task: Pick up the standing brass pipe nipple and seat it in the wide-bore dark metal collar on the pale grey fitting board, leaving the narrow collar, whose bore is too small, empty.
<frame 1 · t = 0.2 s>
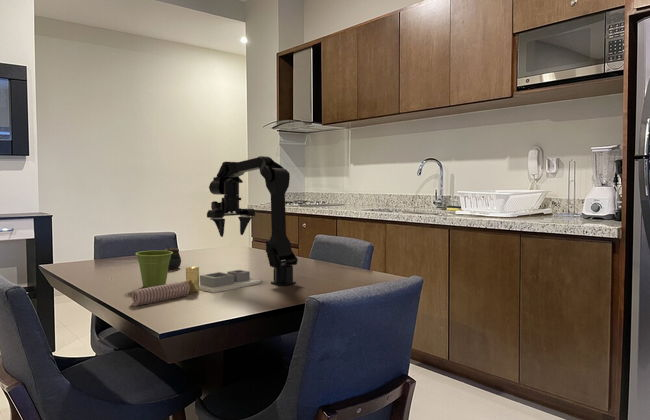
hand: (231, 235, 186), 15 cm above the table, fingers open, 9 cm apart
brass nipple: (192, 292, 154), on the table
coil: (161, 301, 144), on the table
mate gourd: (172, 269, 198), on the table
fitting board: (226, 285, 165), on the table
plant pot: (154, 286, 164), on the table
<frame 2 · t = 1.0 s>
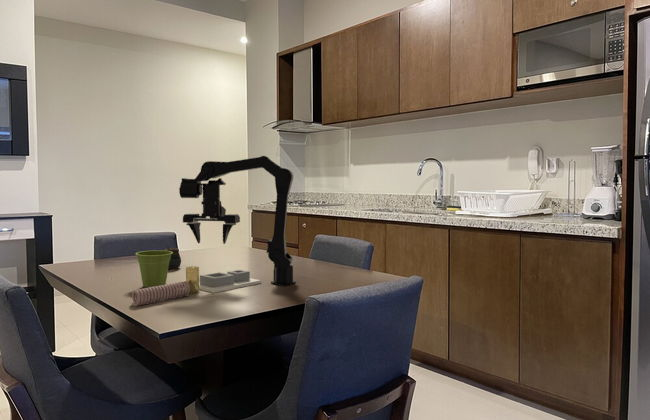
hand: (211, 243, 169), 14 cm above the table, fingers open, 9 cm apart
nothing on the table moved.
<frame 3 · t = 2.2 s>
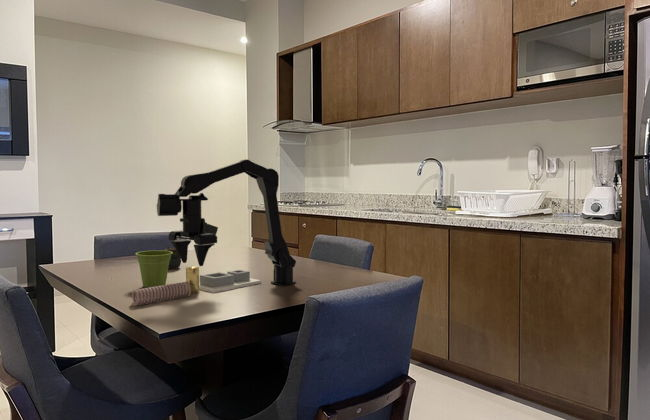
hand: (192, 264, 154), 9 cm above the table, fingers open, 9 cm apart
nothing on the table moved.
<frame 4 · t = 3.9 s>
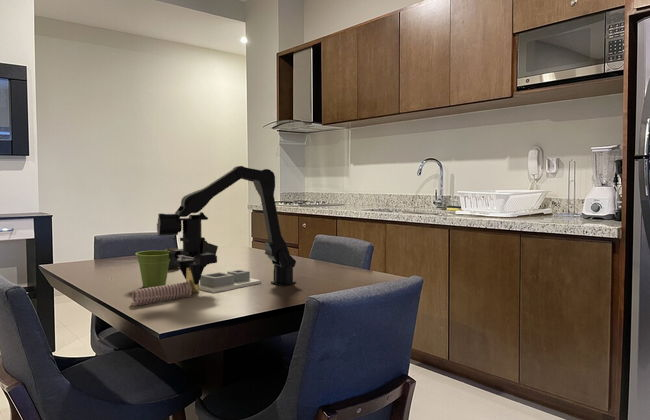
hand: (192, 283, 154), 3 cm above the table, fingers closed on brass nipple, 4 cm apart
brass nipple: (192, 292, 154), on the table, touching gripper
everything else where it was.
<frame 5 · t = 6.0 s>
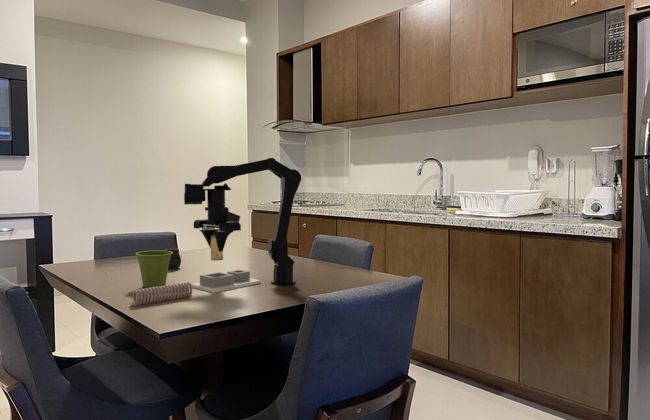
hand: (217, 251, 162), 12 cm above the table, fingers closed on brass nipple, 4 cm apart
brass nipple: (217, 259, 162), point 9 cm above the table, touching gripper
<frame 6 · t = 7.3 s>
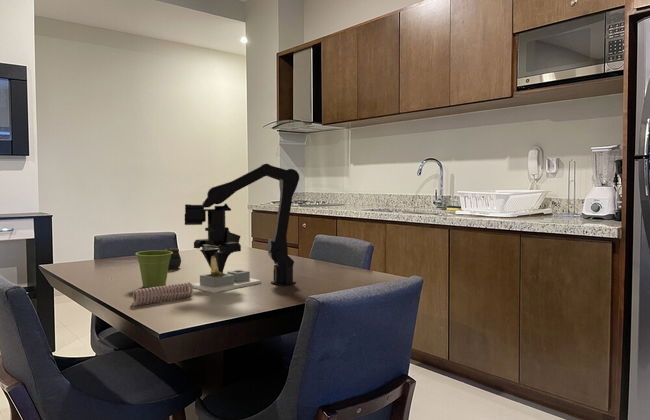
hand: (217, 271, 162), 5 cm above the table, fingers closed on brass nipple, 4 cm apart
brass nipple: (217, 279, 162), point 2 cm above the table, touching gripper
when the fingers open (5 cm above the table, at t = 7.8 s): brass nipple drops 1 cm, resting on fitting board.
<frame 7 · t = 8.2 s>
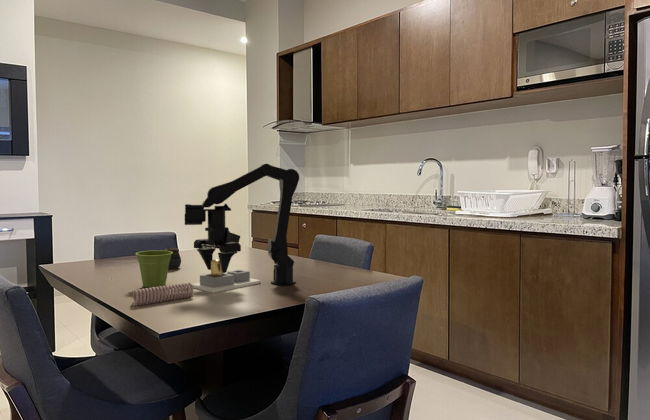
hand: (217, 271, 162), 5 cm above the table, fingers open, 8 cm apart
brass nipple: (217, 284, 162), point 1 cm above the table, touching fitting board
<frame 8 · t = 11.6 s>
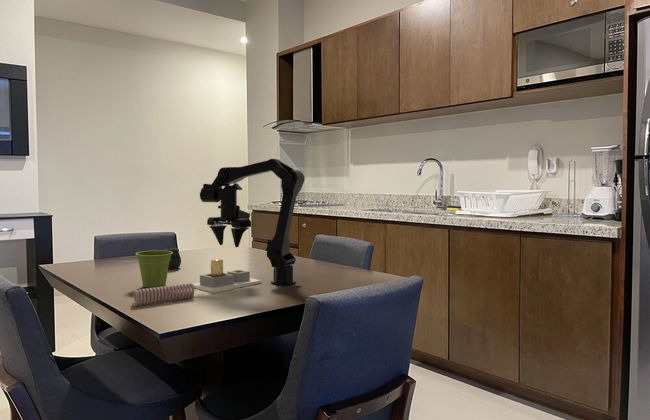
hand: (228, 246, 175), 12 cm above the table, fingers open, 9 cm apart
at the end: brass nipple 0.1 cm from the target spot on the fitting board, point 1.0 cm above the fitting board's base; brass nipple tilted 0°; the gripper is holding nothing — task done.
